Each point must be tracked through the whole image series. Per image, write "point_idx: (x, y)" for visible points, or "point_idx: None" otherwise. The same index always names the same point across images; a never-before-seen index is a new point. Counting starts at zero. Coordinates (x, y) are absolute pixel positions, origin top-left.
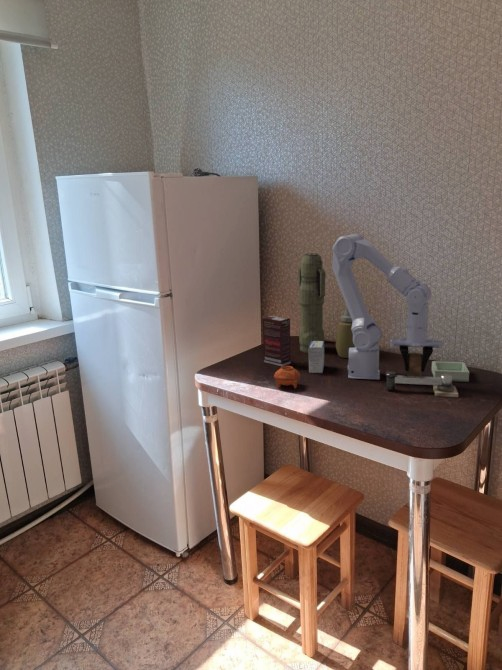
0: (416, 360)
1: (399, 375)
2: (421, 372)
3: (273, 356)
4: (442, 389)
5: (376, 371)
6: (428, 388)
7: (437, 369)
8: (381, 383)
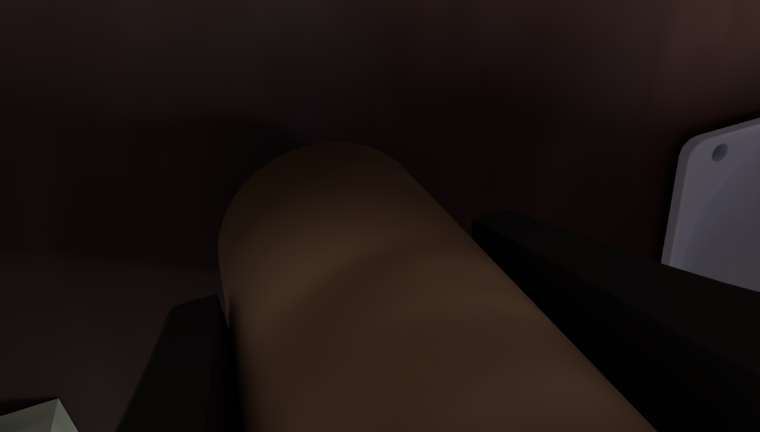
0: (436, 391)
1: None
2: (226, 307)
3: None
4: None
5: (758, 227)
6: (38, 46)
7: None
8: (672, 40)
